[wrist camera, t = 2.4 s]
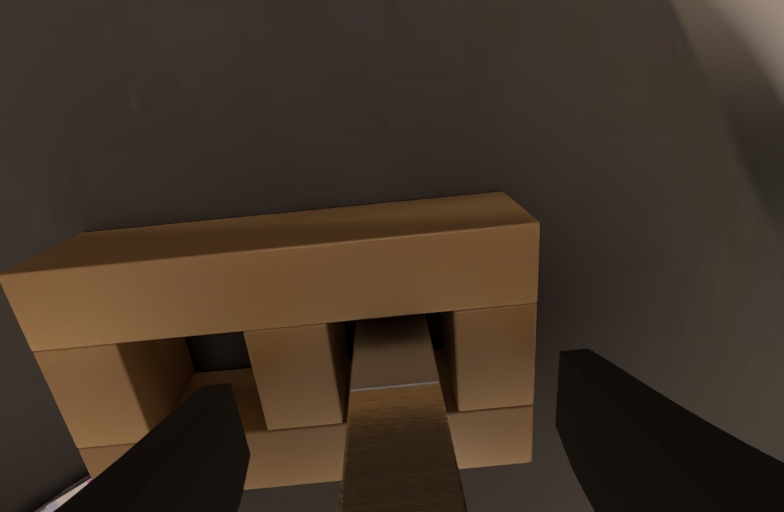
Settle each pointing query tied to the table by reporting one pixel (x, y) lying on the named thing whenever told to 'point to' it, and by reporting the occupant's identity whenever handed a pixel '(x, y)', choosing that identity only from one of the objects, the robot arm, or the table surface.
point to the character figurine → (64, 496)
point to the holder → (287, 324)
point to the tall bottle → (397, 423)
